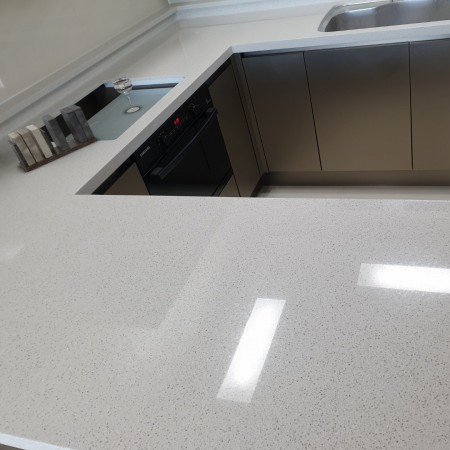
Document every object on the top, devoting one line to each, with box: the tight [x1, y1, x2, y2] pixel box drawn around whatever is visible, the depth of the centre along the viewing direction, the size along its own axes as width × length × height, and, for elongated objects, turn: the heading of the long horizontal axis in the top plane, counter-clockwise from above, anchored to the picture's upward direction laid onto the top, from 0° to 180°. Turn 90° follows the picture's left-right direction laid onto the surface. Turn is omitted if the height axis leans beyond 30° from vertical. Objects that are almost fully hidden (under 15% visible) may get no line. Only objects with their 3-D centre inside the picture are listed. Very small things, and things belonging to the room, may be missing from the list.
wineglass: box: [112, 76, 140, 113], centre depth 178 cm, size 7×7×12 cm
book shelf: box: [7, 104, 98, 172], centre depth 154 cm, size 24×8×12 cm, turn 134°
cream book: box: [25, 124, 53, 158], centre depth 152 cm, size 2×6×10 cm, turn 44°
